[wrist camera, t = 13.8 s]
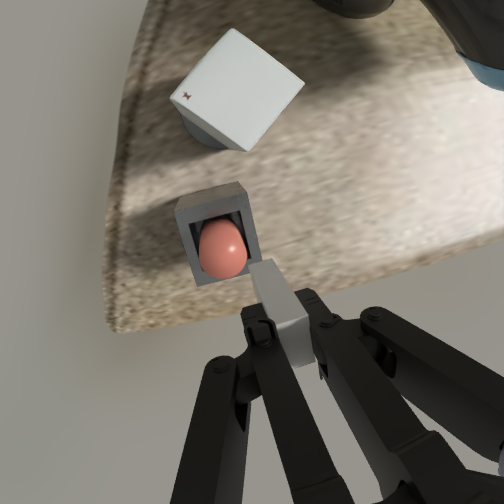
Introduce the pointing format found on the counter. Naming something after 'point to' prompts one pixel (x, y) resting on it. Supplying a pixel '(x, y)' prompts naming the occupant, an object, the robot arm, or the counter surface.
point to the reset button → (221, 247)
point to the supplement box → (236, 91)
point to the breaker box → (211, 205)
